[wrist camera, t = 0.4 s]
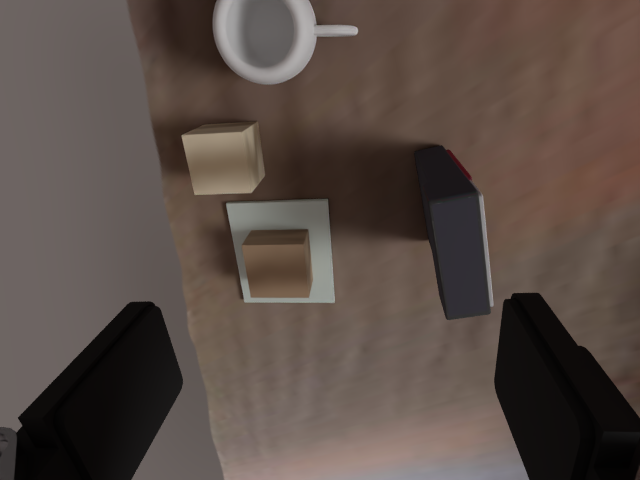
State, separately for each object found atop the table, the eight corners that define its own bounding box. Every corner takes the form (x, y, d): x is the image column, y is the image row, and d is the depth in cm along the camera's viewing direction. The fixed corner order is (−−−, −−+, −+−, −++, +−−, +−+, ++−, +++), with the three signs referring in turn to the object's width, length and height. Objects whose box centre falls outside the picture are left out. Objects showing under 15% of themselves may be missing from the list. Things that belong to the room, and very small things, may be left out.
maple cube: (204, 124, 42) (181, 135, 37) (258, 121, 42) (242, 131, 36) (215, 177, 45) (194, 194, 40) (265, 175, 44) (251, 192, 39)
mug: (240, 80, 40) (213, 86, 33) (231, -19, 36) (198, -35, 29) (357, 80, 39) (355, 87, 32) (360, -22, 35) (359, -39, 28)
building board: (227, 201, 46) (225, 203, 45) (328, 198, 44) (327, 200, 44) (245, 299, 52) (244, 302, 52) (334, 299, 51) (334, 302, 50)
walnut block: (251, 230, 47) (241, 245, 43) (308, 229, 46) (303, 244, 42) (259, 279, 50) (250, 297, 46) (313, 279, 49) (308, 297, 45)
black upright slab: (461, 235, 45) (501, 315, 31) (423, 242, 46) (446, 322, 32) (449, 142, 40) (490, 188, 27) (407, 151, 41) (427, 201, 28)
